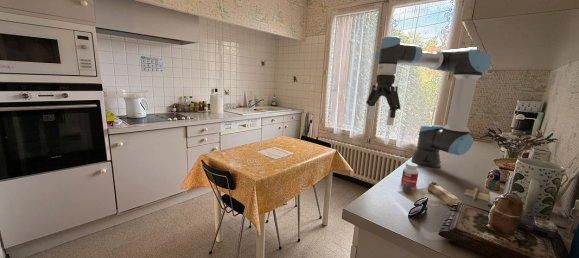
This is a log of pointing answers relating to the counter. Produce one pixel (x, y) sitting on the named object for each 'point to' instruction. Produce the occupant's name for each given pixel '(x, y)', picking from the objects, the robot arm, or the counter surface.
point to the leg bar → (442, 193)
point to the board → (421, 195)
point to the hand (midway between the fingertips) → (379, 122)
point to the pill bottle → (410, 174)
